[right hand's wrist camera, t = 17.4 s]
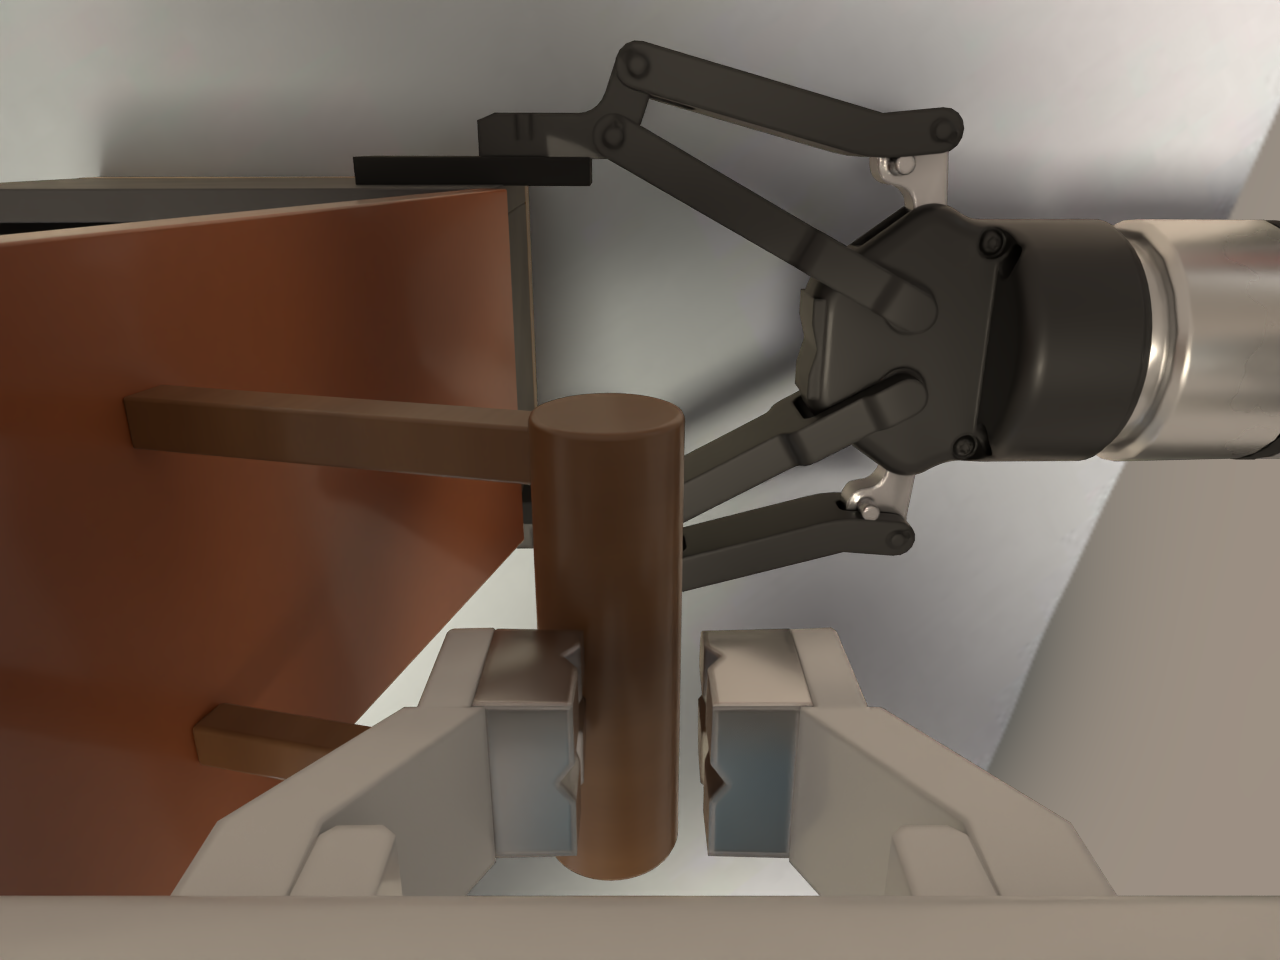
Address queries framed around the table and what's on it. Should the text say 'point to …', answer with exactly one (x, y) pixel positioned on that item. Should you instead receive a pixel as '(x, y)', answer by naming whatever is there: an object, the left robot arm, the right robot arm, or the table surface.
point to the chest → (197, 196)
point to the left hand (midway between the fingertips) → (384, 345)
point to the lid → (297, 523)
